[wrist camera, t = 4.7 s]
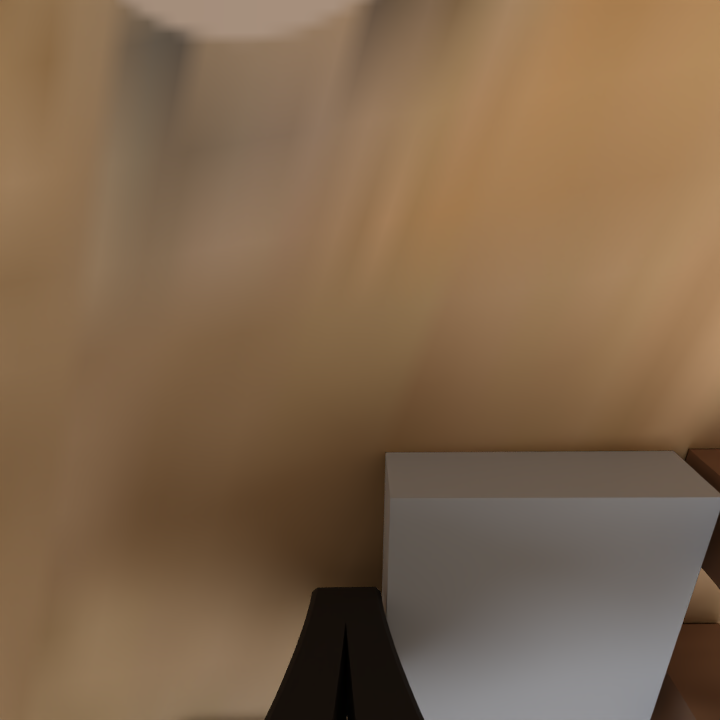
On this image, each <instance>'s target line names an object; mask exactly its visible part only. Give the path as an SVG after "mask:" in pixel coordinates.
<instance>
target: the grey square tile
mask: <svg viewBox="0 0 720 720" xmlns="http://www.w3.org/2000/svg"><path fill="white" fill-rule="evenodd" d="M719 512H720V493H719V492H718V491H717V490H716V489H715V488H714V487H712V486H711V485H710V484H709V483H708V482H707V481H706V480H705V479H704V478H703V477H701V476H700V475H699V474H698V473H697V472H696V471H695V470H694V469H693V468H692V467H691V466H689V465H688V464H687V463H686V462H685V461H684V460H683V459H682V458H681V457H680V456H678V455H677V454H676V453H675V452H674V451H555V452H386V459H385V497H384V535H383V574H382V602H383V606H384V611H385V615H386V619H387V622H388V626H389V629H390V632H391V635H392V638H393V642H394V645H395V648H396V651H397V653H398V656H399V659H400V662H401V664H402V667H403V669H404V672H405V674H406V677H407V679H408V682H409V685H410V687H411V690H412V692H413V695H414V697H415V699H416V702H417V704H418V706H419V709H420V711H421V713H422V716H423V718H424V720H650V719H651V716H652V713H653V710H654V707H655V704H656V701H657V698H658V695H659V692H660V689H661V686H662V683H663V680H664V677H665V674H666V671H667V668H668V665H669V662H670V659H671V656H672V653H673V650H674V647H675V644H676V641H677V638H678V635H679V632H680V629H681V626H682V623H683V620H684V617H685V614H686V611H687V608H688V605H689V602H690V599H691V596H692V593H693V590H694V587H695V584H696V581H697V578H698V575H699V572H700V569H701V566H702V563H703V560H704V557H705V554H706V551H707V548H708V545H709V542H710V539H711V536H712V533H713V530H714V527H715V524H716V521H717V518H718V515H719Z"/></svg>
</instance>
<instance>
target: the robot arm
mask: <svg viewBox="0 0 720 720" xmlns="http://www.w3.org/2000/svg"><path fill="white" fill-rule="evenodd" d="M265 720H424V718H423V716H422V713H421V711H420V709H419V706H418V704H417V702H416V699H415V697H414V695H413V692H412V690H411V687H410V685H409V682H408V679H407V677H406V674H405V672H404V669H403V667H402V664H401V662H400V659H399V656H398V653H397V651H396V648H395V645H394V642H393V638H392V635H391V632H390V629H389V626H388V622H387V619H386V615H385V611H384V606H383V602H382V597H381V591H380V590H379V589H377V588H376V587H333V588H317V589H315V590H314V591H313V592H312V596H311V601H310V605H309V609H308V612H307V616H306V619H305V622H304V625H303V629H302V632H301V634H300V637H299V640H298V643H297V645H296V648H295V651H294V653H293V656H292V658H291V661H290V663H289V666H288V668H287V670H286V673H285V675H284V678H283V680H282V683H281V685H280V687H279V690H278V692H277V694H276V697H275V699H274V701H273V703H272V705H271V707H270V709H269V711H268V713H267V716H266V718H265Z"/></svg>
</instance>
